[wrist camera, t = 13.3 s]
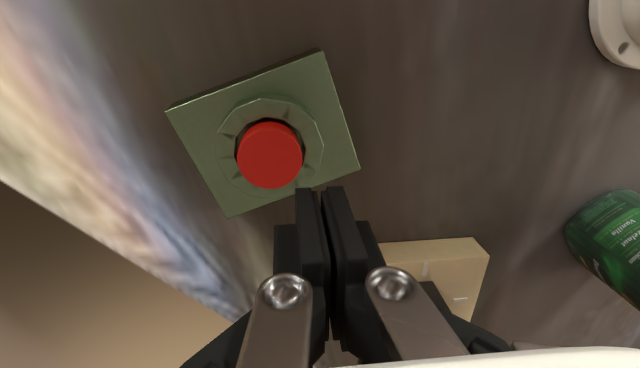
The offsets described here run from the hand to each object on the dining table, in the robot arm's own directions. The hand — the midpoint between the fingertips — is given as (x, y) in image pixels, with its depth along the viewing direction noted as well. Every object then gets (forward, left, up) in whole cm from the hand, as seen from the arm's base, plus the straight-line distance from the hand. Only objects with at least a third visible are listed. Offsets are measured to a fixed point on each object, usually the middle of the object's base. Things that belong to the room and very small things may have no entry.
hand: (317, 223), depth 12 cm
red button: (+2, +1, -11) cm, 11 cm away
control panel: (-11, +17, -15) cm, 26 cm away
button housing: (+2, +1, -15) cm, 15 cm away
